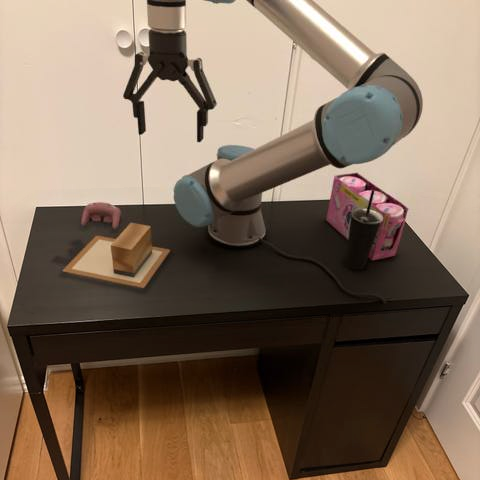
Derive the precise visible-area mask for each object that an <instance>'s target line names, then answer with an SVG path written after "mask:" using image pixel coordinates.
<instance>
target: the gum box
mask: <svg viewBox="0 0 480 480" xmlns="http://www.w3.org/2000/svg"><path fill="white" fill-rule="evenodd" d="M372 190H374V195H373V199H372V204H371V208H370V209H371V210H374V211H376V212H378V213H380V214H381V215H382V216H383V222H382V223H381V224H380V227H379V229H378V232H377V235H376V237H375V240H374V243H373V245H372V248H371V251H370V253H369V256H368V259H369V260H370V261H376V260H381V259H387V258H390V257H395V256H396V255H397V251H398V247H399V244H400V241H401V238H402V233H403V230H404V227H405V222H406V220H407V217H408V216H407V215H408V212H409V210H410V208H408V207H407V206H406V205H405V204H404V203H403V202H401V201H399V200H398V199H396V198H395V197H393V196H392V195H390V194H389V193H387V192H386V191H385V190H383V189H381V188H380V187H378V186H377V185H375V184H374V183H373V182H371V181H370V180H368V179H367V178H365V177H364V176H362V175H361V174H360V173H359V172H352V173H343V174H336V175H334V176H333V180H332V186H331V194H330V198H329V204H328V209H327V214H326V220H325V221H326V222H327V223H328V224H330V225H331V226H332V227H333V228H334V229H335V230H336V231H337V232H339V233H340V234H341V235H342V236H343V237H344V238H345V239H346V240H348V238H349V230H350V222H351V217H350V214H351V212H352V211H353V210H355V209H361V208H363V209H364V208H365V209H367V207H368V203H369V199H370V195H371V191H372Z"/></svg>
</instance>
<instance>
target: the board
mask: <svg viewBox="0 0 480 480" xmlns="http://www.w3.org/2000/svg"><path fill="white" fill-rule="evenodd" d="M116 239H117V238H112V237H106V236H101V235H95V236H94V237H93V238H92V239H91V240H90V241H89V242H88V244H86V245H85V247H84V248H82V250H80V252H78V253H77V255H75V257H73V259H72V260H71V261H70V262H69V263H68V264H67V265H66V266H65V267H64V268H63V269H62V270H61V271H62V272H64V273H69V274H74V275H79V276H84V277H89V278H93V279H98V280H104V281H108V282H112V283H117V284H123V285H127V286H132V287H137V288H142V289H145V287H146V285H147V284H148V283H149V281H150V280H151V279H152V278H153V276H154V274H155V273H156V272H157V270H158V269H159V268H160V266H161V265H162V263H163V262H164V260H165V259H166V257H167V256H168V255H169V253H170V252H171V249H168V248H163V247H158V246H153V245H152V254H151V256H150V257H149V258H148V260H147V261H146V262H145V264H144V265H143V266H142V268H141V269H140V270H139V272H138V273H137V274H136V276H135V277H129V276H124V275H119V274H114V271H113V262H112V253H111V244H112V243H113V242H114V241H115V240H116Z"/></svg>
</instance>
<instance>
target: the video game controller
mask: <svg viewBox="0 0 480 480" xmlns="http://www.w3.org/2000/svg"><path fill="white" fill-rule="evenodd" d="M101 215H105V216H104V217H103V222H104V223H112V227H111V228H112V229H117V228H118V227H119V225H120V220H121V215H122V213H121V209H120V208H119V207H118V206H115V205H114V204H111V203H108V202H104V201H103V202H102V201H101V202H99V201H98V202H97V201H96V202H91V203H88V204H87V205H86V206H85V207H84V209H83V212H82V216H81V221H80V222H81V223H80V224H81V226H86V225H87V224H88V223H89V222H90V219H91V221H94V222H101V221H102V217H101Z"/></svg>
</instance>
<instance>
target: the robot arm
mask: <svg viewBox="0 0 480 480" xmlns="http://www.w3.org/2000/svg"><path fill="white" fill-rule="evenodd" d="M204 1H206V2H210V3H212V4H216V5H218V4H226V5H227V4H229V5H230V4H233V3H235V2H236V1H237V0H204ZM246 1H247V3H248V4H250V5H251V7H253V8H254V9H256V10H257V11H258V12H260V14H262V15H263V16H264V17H265V18H266V19H267V20H269V21H270V22H271V23H272V24H273V25H274V26H275V27H277V28H278V29H279V30H280V31H281V32H282V33H283V34H285V35H286V36H287V37H288V38H289V39H290V40H291V41H292V42H294V43H295V44H296V45H297V46H298V47H299V48H300V49H302V50H303V51H304V52H305V53H306V54H307V55H308V56H309V57H311V58H312V59H313V60H314V61H315V62H316V63H317V64H318V65H320V66H321V67H322V68H323V69H324V70H325V71H327V73H329V74H330V75H331V76H332V77H333V78H334V79H335V80H337V81H338V82H339V83H340V84H341V85H342V86H343V87H345V88H346V89H347V90H346V91H344V92H342V93H341V94H340V95H339V96H337V97H335V98H334V99H331V100H330V101H327V102H326V103H324V104H322V105H321V106H319V107H317V109H316V110H315V112H314V117H313V119H312V120H310V121H307V122H306V123H304V124H302V125H300V126H298V127H296V128H294V129H292V130H290V131H288V132H286V133H284V134H281V135H280V136H278V137H276V138H274V139H272V140H270V141H268V142H266V143H263V144H262V145H260V146H258V147H256V148H253V147H250V146H245V145H239V144H226V145H222V146H220V147H218V149H217V153H216V160H215V161H212V162H210V163H208V164H206V165H204V166H202V167H200V168H199V169H197V170H195V171H193V172H191V173H189V174H185V175H182V177H181V178H180V179H178V180H177V181H176V182H175V184H174V186H173V201H174V204H175V207H176V210H177V212H178V213H179V215H180V216H181V217H182V218H183V220H184V221H185V222H187V223H188V224H190V225H191V226H193V227H195V228H204V227H206V226H207V235H208V238H209V239H210V240H211V241H212V242H213V243H214V244H216V245H218V246H221V247H223V248H228V249H232V250H233V249H234V250H244V249H250V248H254V247H257V246H259V245H260V244H262V243H263V244H264V245H266V246H267V247H269V248H270V249H272V250H273V251H275V252H276V253H278V254H279V255H281V256H283V257H285V258H288V259H292V260H301V261H308V262H312V263H314V264H317V265H318V266H319V267H321V268H322V269H323V270H324V271H325V272H326V273H327V274H328V275H329V276H330V277H331V278H332V279H333V280H334V281H335V282H336V284H337V285H338V287H339V288H340V289H341V290H342V291H343V292H344V293H346V294H348V295H350V296H353V297H362V298H363V297H370V298H371V297H372V298H376V299H378V300H380V301H381V302H382V304H385V305H387V304H388V302H387V301H386V299H385V298H384V297H383V296H381V295H379V294H377V293H372V292H371V293H370V292H363V293H362V292H353V291H351V290H349V289H348V288H346V287H345V286H344V285H343V283H341V281H340V279H339V278H338V276H337V275H335V274H334V273H333V271H331V270H330V269H329V268H328V267H327V266H326V265H325V264H324V263H322V262H320V261H319V260H317V259H314V258H312V257H308V256H299V255H293V254H289V253H285V252H283V251H282V250H280V249H279V248H278V247H276V246H275V245H273V244H272V243H270V242H268V241H266V239H265V238H266V226H265V225H266V224H265V221H264V218H263V214H262V198H263V193H265V192H268V191H270V190H272V189H274V188H277V187H279V186H282V185H285V184H286V183H289V182H292V181H294V180H297V179H299V178H301V177H303V176H306V175H308V174H310V173H313V172H316V171H318V170H321V169H323V168H325V167H327V166H330V165H331V166H332V167H334V168H336V169H341V170H342V169H345V168H347V167H351V166H353V165H362V164H366V163H369V162H372V161H375V160H378V158H381V157H383V155H385V154H386V153H387V152H388V151H389V150H390V149H391V148H392V147H394V146H395V145H396V144H397V143H398V142H400V141H401V140H402V139H404V138H405V137H407V136H408V135H409V134H411V133H412V131H414V130H415V128H416V126H417V125H418V123H419V122H420V119H421V117H422V114H423V113H422V112H423V106H424V101H423V95H422V92H421V88H420V87H419V85H418V83H417V82H416V80H415V79H414V78H413V77H412V76H411V75H410V74H409V73H408V72H407V71H406V70H405V69H404V68H403V67H401V66H400V65H399V64H398V63H397V62H395V61H394V60H393V58H391V57H390V56H389V55H387V54H386V53H385V52H379V53H375V51H373V50H372V49H371V48H370V47H369V46H367V45H366V44H365V43H363V42H362V41H361V40H360V39H359V38H357V37H356V36H355V35H354V34H353V33H352V32H350V30H348V29H347V27H345V26H344V25H342V24H341V23H340V22H339V21H338V20H337V19H335V17H333V16H332V15H331V14H330V13H328V12H327V11H326V10H325V9H324V8H322V6H321V5H319V4H318V3H317V2H316V1H314V0H246ZM146 12H147V13H146V14H147V15H146V16H147V27H149V28H150V29H149V30H148V32H147V33H148V46H149V47H148V48H149V49H148V50H149V53H148V54H146V53H144V51H139V52H137V53H135V55H134V64H133V65H134V66H133V68H132V70H131V73H130V75H129V79H128V81H127V84H126V86H125V89H124V92H123V95H122V97H123V99H124V100H127V101H130V102H131V105H132V114H133V115H132V116H133V118H134V119H137V131H138V133H137V134H138V135H139V136H142V135H143V134H145V133H146V132H147V126H146V110H145V109H146V107H145V101H144V100H142V98H143V96H145V94H146V93H147V92H148V90H149V89H150V88H151V86H152V85H153V83H154V82H155V81H156V80H157V78H158V79H159V80H160V81H170V82H176V81H178V83H179V84H180V85H181V86H183V88H184V89H185V91H186V92H187V93H188V95H189V96H190V97H191V99H192V100H193V102H194V103H195V105H196V106H197V107H198V109H197V112H196V143H201V142H203V140H204V127H207V125H208V123H209V111H210V110H214V109H215V108H216V107H217V103H218V102H217V100H216V97H215V96H214V92H213V91H212V88H211V86H210V84H209V81H208V78H207V76H206V74H205V71H204V68H203V67H204V66H203V59H202V58H200V57H197V58H195V59H189V58H188V55H187V54H188V53H187V51H188V50H187V49H188V48H187V47H188V46H187V32H186V31H185V29H186V28H187V0H146ZM147 63H148V64H149V66H150V68H151V69H152V70H151V71H150V73H149V74H148V76H147V77H146V79H145V80H144V82H143V83H142V84H141V86H140V87H139V88H138V89H137V91H136V92H135V90H136V88H137V87H136V86H137V84H138V82H139V79H140V76H141V74H142V71H143V70H144V66H145V65H147ZM188 67H189V68H190V70H191V72H193V73H194V77H195V79H196V81H197V84H198V86H199V88H200V90H201V92H200V91H199V89H198V88H197V86H196V85H195V83H194V82H193V80H192V79H191V76H190V75H189V73H188V72H187V71H186V70H187V69H188ZM134 92H135V93H134Z"/></svg>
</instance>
